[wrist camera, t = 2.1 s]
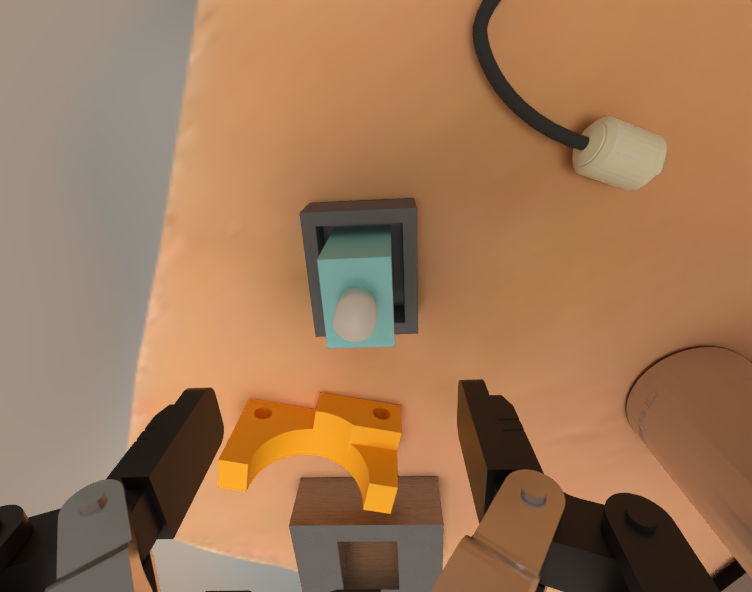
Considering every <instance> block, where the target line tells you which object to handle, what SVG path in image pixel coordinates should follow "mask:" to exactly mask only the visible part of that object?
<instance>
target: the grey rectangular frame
mask: <svg viewBox="0 0 752 592" xmlns="http://www.w3.org/2000/svg"><path fill="white" fill-rule="evenodd" d="M300 219H301V227H302V235H303V242H304V250H305V258H306V266H307V273H308V281H309V289H310V296H311V304H312V312H313V319H314V327H315V335H316V337H321V336H326V331H325V323H324V314H323V306H322V297H321V289H320V280H319V272H318V263H317V259H318V257H319V255H320V253H321V251H322V250H323V248H324V246H325V244H326V242H327V240H328V238H329V236H330V234H331V232H332V231H333V229H334V227H354V226H377V225H391V247H392V274H393V302H394V334H418V282H417V207H416V204H415V201H414V198H404V199H383V200H362V201H341V202H320V203H309V204H308V205H307V206H306V207H305V208H304V209H303V210H302V211H301V212H300Z"/></svg>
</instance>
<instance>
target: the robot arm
mask: <svg viewBox="0 0 752 592" xmlns="http://www.w3.org/2000/svg"><path fill="white" fill-rule="evenodd" d="M626 412H627V418H628V421H629V423H630V425H631V427H632V429H633V430H634V431H635V432H636V434H637V435H638V436H639V437H640V439H641V440H642V441H643V442H644V444H645V445H646V446H647V447H648V449H649V450H650V451H651V452H652V454H653V455H654V456H655V457H656V459H657V460H658V461H659V463H660V464H661V465H662V466H663V468H664V469H665V470H666V472H667V473H668V474H669V475H670V477H671V478H672V479H673V480H674V482H675V483H676V484H677V485H678V487H679V488H680V489H681V491H682V492H683V493H684V494H685V496H686V497H687V498H688V499H689V501H690V502H691V503H692V504H693V506H694V507H695V508H696V509H697V511H698V512H699V513H700V514H701V516H702V517H703V518H704V519H705V521H706V522H707V523H708V524H709V526H710V527H711V528H712V529H713V531H714V532H715V533H716V535H717V536H718V537H719V538H720V540H721V541H722V542H723V543H724V545H725V546H726V547H727V548H728V550H729V551H730V552H731V553H732V555H733V556H734V557H735V558H736V560H737V561H738V562H739V563H740V565H741V566H742V567H743V568H744V570H745V571H746V572H747V573H748V575H749V576H750V577H751V579H752V362H750V361H749V360H747V359H746V358H744V357H743V356H741V355H740V354H738V353H735V352H733V351H730V350H728V349H723V348H717V347H700V348H694V349H689V350H685V351H682V352H679V353H676V354H673V355H671V356H669V357H667V358H665V359H663V360H661V361H660V362H658V363H657V364H655V365H654V366H653V367H651V368H650V369H649V370H647V371H646V372H645V373H644V374H643V375H642V376H641V377H640V379H639V380H638V381H637V382H636V384H635V385H634V387H633V388H632V390H631V392H630V395H629V398H628V400H627V408H626ZM457 427H458V435H459V440H460V444H461V449H462V453H463V457H464V461H465V465H466V470H467V474H468V478H469V482H470V487H471V491H472V495H473V499H474V503H475V508H476V512H477V516H478V520H479V526H478V528H477V529H476V531H475V533H474V534H473V536H472V537H470V536H468V535H466V536H465V537H463V539H462V540H461V541H460V543H459V544H458V546H457V547H456V549H455V551H454V552H453V554H452V556H451V557H450V559H449V561H448V562H447V564H446V566H445V568H444V569H443V571H442V573H441V574H440V576H439V578H438V579H437V581H436V583H435V584H434V586H433V588H432V589H431V591H430V592H546V590H547V587H551V588H554V589H557V590H560V591H563V592H720V591H719V589H718V588H717V586H716V585H715V583H714V582H713V580H712V578H711V577H710V575H709V574H708V572H707V571H706V569H705V568H704V566H703V565H702V563H701V562H700V560H699V559H698V557H697V556H696V554H695V553H694V551H693V550H692V548H691V546H690V545H689V543H688V542H687V540H686V539H685V537H684V536H683V534H682V533H681V531H680V530H679V528H678V527H677V525H676V524H675V522H674V521H673V519H672V518H671V517H670V515H669V514H668V513H667V512H666V511H665V510H663V509H662V508H661V507H660V506H658V505H657V504H655V503H654V502H652V501H650V500H648V499H646V498H644V497H642V496H639V495H635V494H631V493H618V494H614V495H612V496H611V497H609V498H608V499H607V501H606V503H605V505H603V504H599V503H595V502H591V501H587V500H583V499H579V498H576V497H573V496H571V495H568V494H566V493H564V492H563V491H562V489H561V488H560V486H559V485H558V484H557V483H556V482H555V481H554V480H553V479H551V478H550V477H548V476H547V475H545V474H544V473H543V471H542V469H541V466H540V464H539V462H538V460H537V458H536V455H535V453H534V451H533V449H532V446H531V444H530V442H529V440H528V438H527V435H526V433H525V432H524V429H523V427H522V424H521V422H520V421H519V418H518V416H517V413H516V411H515V409H514V407H513V405H512V404H510V403H509V402H508V401H507V400H506V399H505V398H504V397H503V396H502V395H489V393H488V390H487V388H486V385H485V382H484V380H482V379H481V380H459V385H458V408H457ZM223 434H224V425H223V421H222V417H221V413H220V410H219V406H218V402H217V399H216V395H215V392H214V390H213V389H212V388H188V389H186V390H185V391H184V392H183V393H182V395H181V396H180V397H179V399H178V400H177V402H176V403H175V404H174V405H169V406H167V407H166V408H165V409H163V410H162V411H161V412H159V413H158V414H157V415H155V416H154V418H153V419H152V420H151V422H150V423H149V424H148V425H147V427H146V428H145V431H143V432H142V433H141V435H140V436H139V437H138V438H137V442H134V444H133V445H132V446H131V447H130V449H129V450H128V451H127V453H126V454H125V455H124V457H123V458H122V459H121V460H120V462H119V463H118V464H117V466H116V467H115V468H114V469H113V471H112V472H111V473H110V475H109V476H108V477H107V479H106V480H101V481H98V482H95V483H92V484H90V485H88V486H86V487H84V488H83V489H81V490H79V491H78V492H76V493H75V494H74V495H73V496H71V497H70V498H69V499H68V500H67V501H66V502H65V504H64V505H63V506H62V508H61V509H57V510H54V511H50V512H47V513H43V514H40V515H36V516H32V517H29V518H28V517H27V516H26V514H25V512H24V511H23V509H22V508H21V507H19V506H17V505H5V506H1V507H0V592H161V590H160V585H159V580H158V575H157V571H156V566H155V561H154V556H153V554H152V551H151V549H152V547H153V545H154V543H155V541H156V539H174V537H175V535H176V533H177V531H178V529H179V527H180V525H181V523H182V521H183V519H184V517H185V515H186V513H187V511H188V509H189V507H190V505H191V503H192V501H193V499H194V497H195V495H196V493H197V491H198V489H199V487H200V485H201V483H202V481H203V479H204V477H205V475H206V473H207V471H208V469H209V467H210V465H211V463H212V461H213V459H214V457H215V455H216V453H217V451H218V449H219V447H220V445H221V443H222V440H223ZM206 592H251V591H206ZM331 592H381V589H338V590H334V591H331Z"/></svg>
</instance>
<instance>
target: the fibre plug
mask: <svg viewBox="0 0 752 592" xmlns="http://www.w3.org/2000/svg"><path fill="white" fill-rule="evenodd" d="M317 263H318V272H319V280H320V289H321V297H322V306H323V314H324V323H325V331H326V340H327V348H359V347H393V346H395V344H394V302H393V274H392V247H391V225H377V226H354V227H334V229H333V231H332V232H331V234H330V236H329V238H328V240H327V242H326V244H325V246H324V248H323V250H322V251H321V253H320V255H319V257H318V259H317Z"/></svg>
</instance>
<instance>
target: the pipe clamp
mask: <svg viewBox="0 0 752 592" xmlns="http://www.w3.org/2000/svg"><path fill="white" fill-rule="evenodd" d="M401 434H402V424H401V405H395V404H389V403H383V402H377V401H371V400H365V399H359V398H353V397H347V396H341V395H335V394H329V393H323V392H320V396H319V400H318V404H317V408H316V409H312V408H305V407H299V406H293V405H287V404H281V403H275V402H269V401H263V400H256V399H249V401H248V402H247V404H246V406H245V408H244V410H243V412H242V414H241V416H240V418H239V420H238V422H237V424H236V426H235V428H234V430H233V432H232V434H231V436H230V438H229V440H228V442H227V444H226V446H225V448H224V450H223V452H222V454H221V456H220V458H219V460H218V488H225V489H231V490H238V491H244V492H246V491H247V489H248V487H249V485H250V483H251V482H252V480H253V479H254V478H255V476H256V475H257V474H258V473H259V472H260V471H261V470H263V469H264V468H265V467H266V466H268V465H269V464H271V463H273V462H275V461H277V460H279V459H282V458H285V457H288V456H293V455H304V454H307V455H316V456H321V457H325V458H327V459H330V460H332V461H334V462H336V463H338V464H339V465H341V466H342V467H344V468H345V469H346V470H347V471H348V472H349V473H350V474H351V475H352V476H353V478H354V479H355V481H356V482H357V484H358V486H359V488H360V491H361V494H362V498H363V510H369V511H375V512H382V513H388V514H391V510H392V507H393V503H394V500H395V496H396V493H397V489H398V470H397V449H398V446H399V442H400V438H401Z"/></svg>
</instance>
